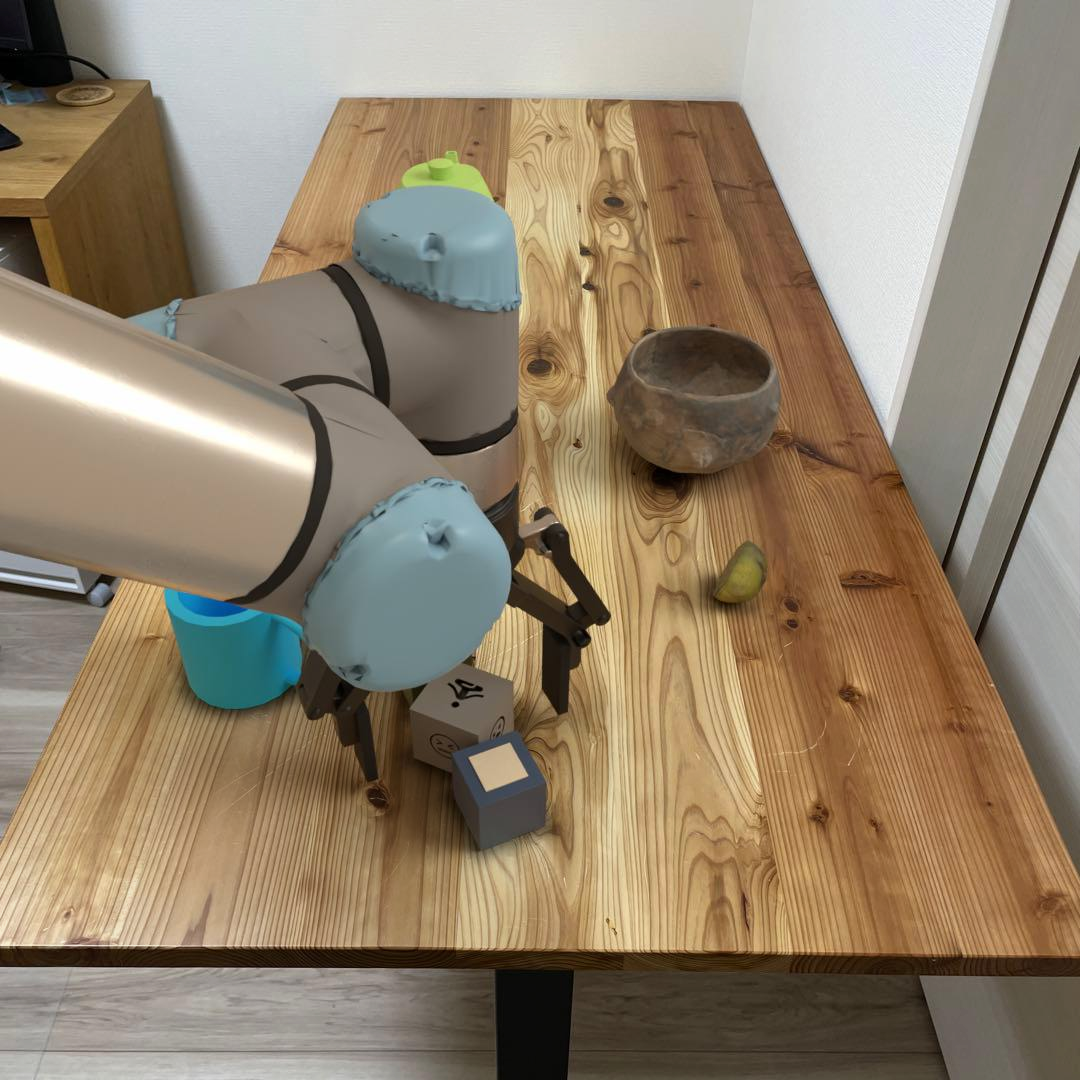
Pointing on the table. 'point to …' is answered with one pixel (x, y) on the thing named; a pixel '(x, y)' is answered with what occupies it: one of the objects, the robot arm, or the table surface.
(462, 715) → the dice cube
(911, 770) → the table surface
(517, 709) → the table surface
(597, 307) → the table surface
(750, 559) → the lime
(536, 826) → the block
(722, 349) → the bowl
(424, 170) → the teapot
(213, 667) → the mug
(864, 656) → the table surface
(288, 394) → the robot arm
